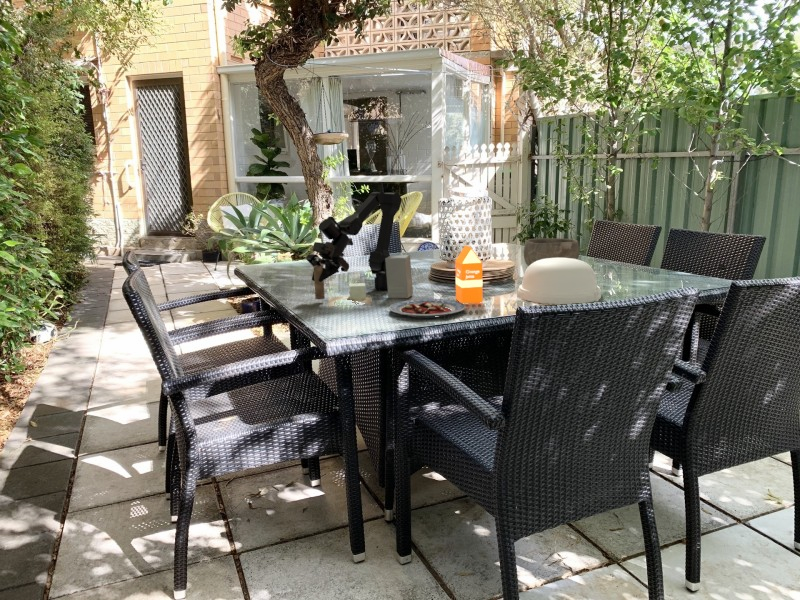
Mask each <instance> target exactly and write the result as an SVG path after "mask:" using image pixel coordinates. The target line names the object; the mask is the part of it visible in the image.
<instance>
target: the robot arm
mask: <svg viewBox="0 0 800 600" xmlns="http://www.w3.org/2000/svg"><path fill="white" fill-rule="evenodd" d="M401 204H402V197H401V195H400V194H399V193H398V192H380V191H379V192H378V191H376V192H375V191H373V192H371V193H369V195H368V197H367V198H365V200H364V201H363V203H361V205H360V206H359V207H358V208H357V209H356V210H355V211H354V212H353V213H352V214H350V215H348V216H345V218H344V219H342V220H341V221H339V223H338V222H337V221H336V219H335V218H334V217H333V216H328V217H327V218H325V219H324V220H323V221H321V222H320V223H319V224H318V230H319V231H320V232H321V233H322V234H323V235H324V236H325V237H326V238H327V239H328V240H331V241H326V242H317V241H315V242H314V243H313V246H312V252H316V253H318V254H316V253H315V254H314V253H308V254H307V256H306V257H305V260H306V261H307V262H308V263H309V264H310V265H311V266H312V267H313V266H323V272H322V274H321V276H320V278H319V282H322V281H323V280H324V281H325V280H327V279H328V278H329V277H331V276H334V275H335V274H337V273H339V272H340V271H341V272H345V273H346V272H348V270H350V264H349V263H348V262H347V260H346V259H345V258H344V255H345V254H344V251H345V249H346V248H347V246H353V245H354V242H353V238H352V237H349V236H357V235H358V234H359V233H360V231H361V230H362V228H363V224H364V222H365V220H366V219H367V218H368V217H369V216H370V214H372V212H373V211H374V210H375V209H376V208H377V207H378V205H379V208H380V211H381V219H380V225H379V230H378V231H379V232H378V235H377V241H376V248H375V249H374V250H373V251H370V252H369V258H368V261H367V262H368V266H369V267H370V268H369V269H370V271H371V273H372V275H375V277H374V289H375V290H376V291H388V287H387V274H386V262H385V258H387V257H389V256H391V255H390V252H389V251H390V250H389V248H390V243H391V237H392V230H393V226H394V219H395V216H396V214H397V213H398V212H399V210H400V208H401ZM339 269H340V270H339ZM311 280H312V282H314V270H313V271H312V276H311Z"/></svg>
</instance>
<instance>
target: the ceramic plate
mask: <svg viewBox="0 0 800 600" xmlns="http://www.w3.org/2000/svg"><path fill="white" fill-rule="evenodd" d="M445 307H447V308H445ZM448 308H450V309H452V311H451V310H450V309H448ZM388 309H389V310H390V311H391V312H393V313H395V314H398V315H399V314H400V315H404V316H406V315H408V316H407V317H410V316H416V317H415V318H419V317H431V318H436V317H435V316H441V317H445V316H444V315H446V316H449V315H451V314H456V313H459V312H462V311H463V310H465V309H466V304H463V303H461V302H458V301H457V300H453V299H451V300H450V299H443V298H416V299H408V300H407V299H406V300H401V301H398V302H394V303H391V305H390V306H389V307H388ZM448 314H449V315H448Z"/></svg>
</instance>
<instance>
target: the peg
mask: <svg viewBox="0 0 800 600" xmlns="http://www.w3.org/2000/svg"><path fill="white" fill-rule="evenodd" d="M312 267H313V271H314V281H313V282H314V283H313V284H314V298H315V300H324V299H326V297H325V280H323V281H322V282H319V278H320V276H321V274H322V272H323V268H324V265H323V266H312Z"/></svg>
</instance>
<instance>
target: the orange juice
mask: <svg viewBox="0 0 800 600" xmlns="http://www.w3.org/2000/svg"><path fill="white" fill-rule="evenodd" d="M483 281H484V280H483V262H482V261H481V259H480V258H479V256H478V255H477V253H476V252H475V251H474V249H473V248H472V247H471V246H468V245H466V244H465V245H464V246H463V248H462V249H461V251H460V253H459V255H458V256H457V258H456V259H455V300H456V299H457V300H458V301H459V302H461V303H477V304H481V303H480V302H482V303H483ZM457 300H456V301H457Z"/></svg>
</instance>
